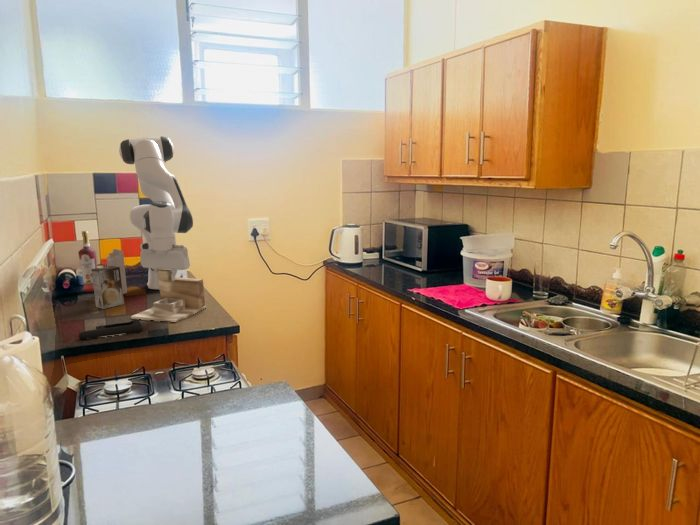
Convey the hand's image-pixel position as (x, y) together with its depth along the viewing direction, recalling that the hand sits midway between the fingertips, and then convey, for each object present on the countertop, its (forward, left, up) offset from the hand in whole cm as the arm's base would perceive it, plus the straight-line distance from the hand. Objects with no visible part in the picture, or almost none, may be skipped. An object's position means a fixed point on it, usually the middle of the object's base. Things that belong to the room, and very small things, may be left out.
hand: (166, 279), depth 205 cm
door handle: (+24, -7, -14) cm, 28 cm away
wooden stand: (0, 0, -14) cm, 14 cm away
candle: (-18, -44, -14) cm, 50 cm away
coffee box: (-3, -32, -14) cm, 35 cm away
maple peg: (0, 0, -4) cm, 4 cm away
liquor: (-21, -59, -14) cm, 64 cm away
